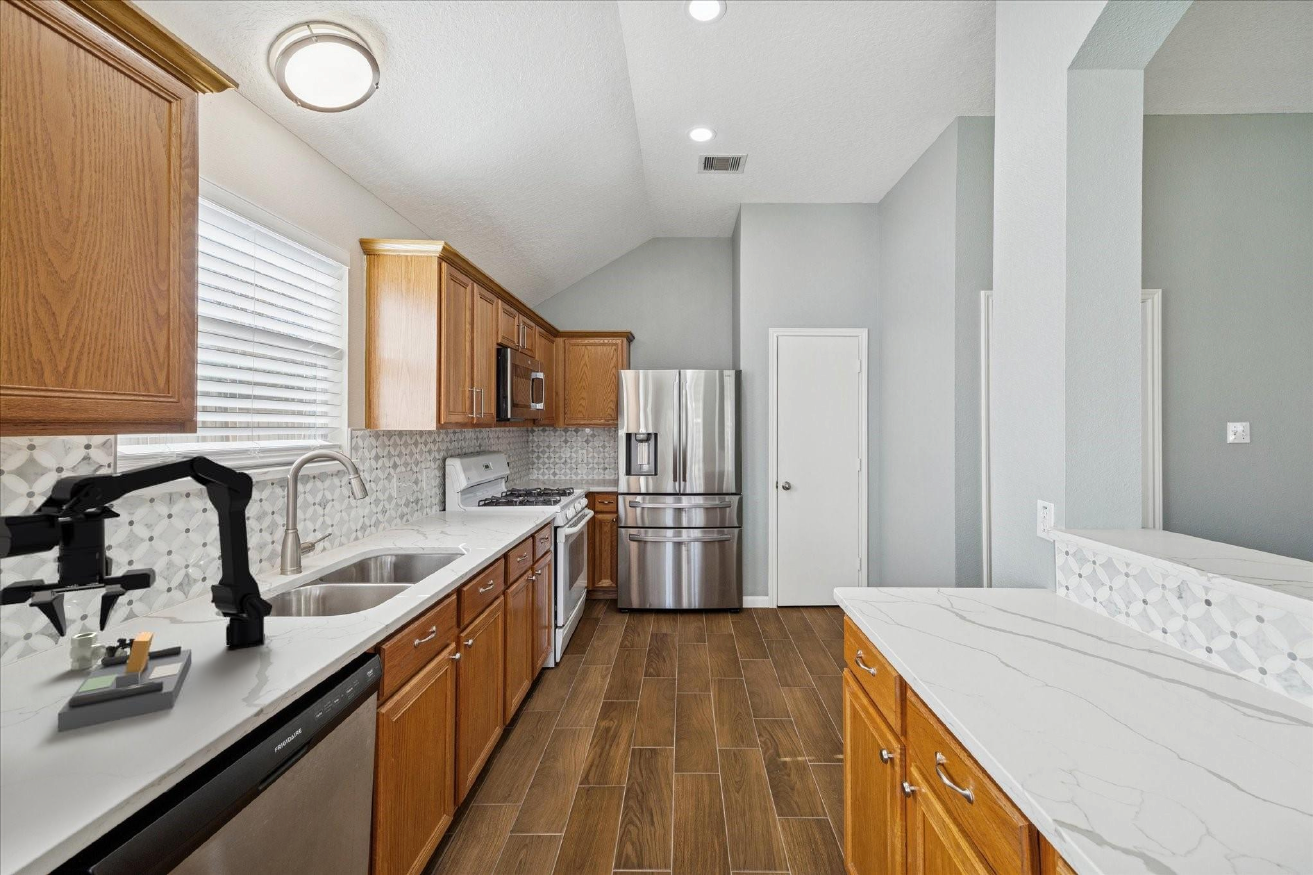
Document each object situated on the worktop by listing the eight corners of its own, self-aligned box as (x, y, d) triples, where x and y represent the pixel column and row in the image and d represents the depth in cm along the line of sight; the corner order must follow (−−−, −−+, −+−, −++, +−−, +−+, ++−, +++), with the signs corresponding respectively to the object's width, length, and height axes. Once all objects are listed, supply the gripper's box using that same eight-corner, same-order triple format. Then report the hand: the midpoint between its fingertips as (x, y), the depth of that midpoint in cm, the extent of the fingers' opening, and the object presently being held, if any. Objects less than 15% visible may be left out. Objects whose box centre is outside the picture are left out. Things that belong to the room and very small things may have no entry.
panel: (191, 663, 114) (191, 639, 114) (172, 707, 96) (172, 679, 96) (98, 679, 107) (97, 654, 107) (58, 731, 88) (57, 701, 88)
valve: (56, 673, 110) (105, 678, 108) (56, 640, 110) (104, 644, 108) (95, 659, 116) (141, 663, 114) (95, 628, 116) (141, 632, 114)
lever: (144, 666, 104) (153, 632, 105) (138, 676, 100) (148, 640, 101) (130, 666, 103) (140, 632, 104) (124, 676, 99) (133, 640, 100)
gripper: (161, 533, 109) (161, 611, 110) (23, 544, 99) (24, 629, 99) (149, 543, 100) (149, 628, 100) (-4, 556, 90) (-3, 650, 90)
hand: (83, 633), depth 98 cm, fingers open, 5 cm apart
